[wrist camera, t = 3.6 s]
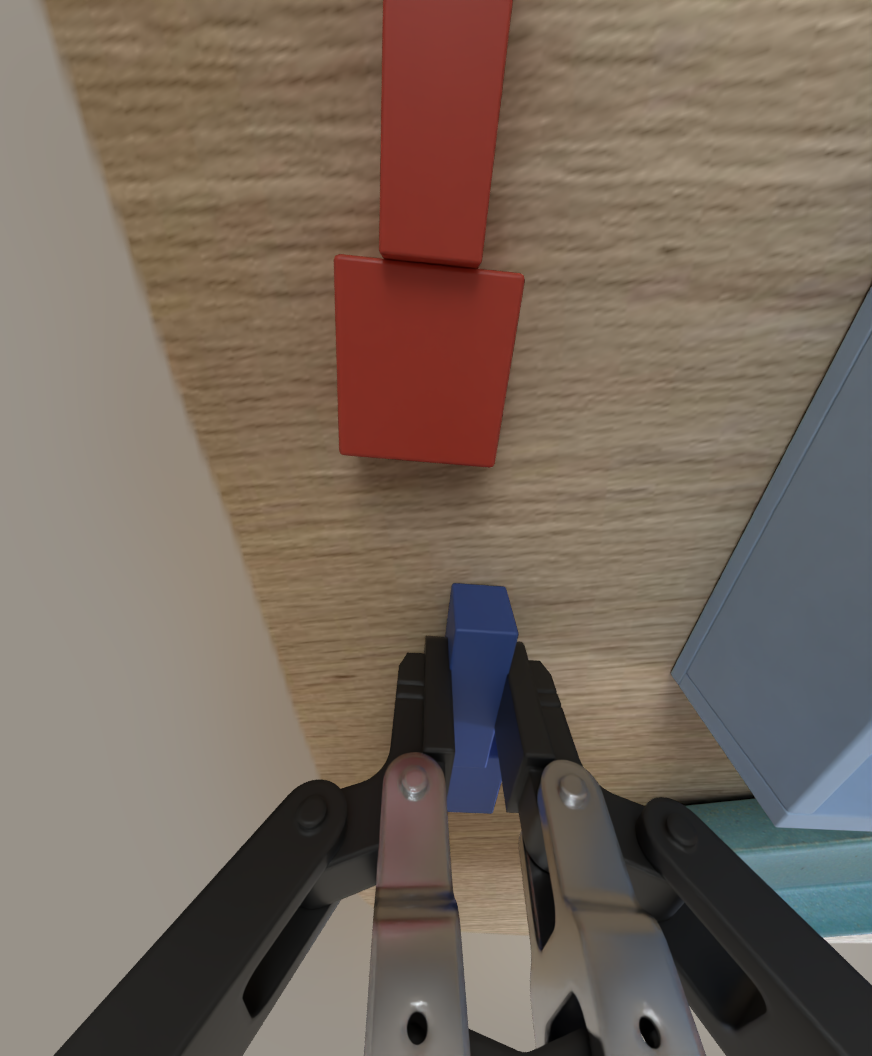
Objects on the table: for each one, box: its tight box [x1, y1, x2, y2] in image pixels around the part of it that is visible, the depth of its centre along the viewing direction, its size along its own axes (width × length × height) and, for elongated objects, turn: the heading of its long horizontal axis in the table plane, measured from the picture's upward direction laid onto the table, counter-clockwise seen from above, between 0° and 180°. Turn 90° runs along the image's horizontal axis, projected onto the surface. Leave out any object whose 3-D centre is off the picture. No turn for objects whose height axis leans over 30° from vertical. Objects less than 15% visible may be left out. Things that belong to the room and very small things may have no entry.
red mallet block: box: [334, 0, 525, 468], centre depth 6 cm, size 9×3×2 cm, turn 175°
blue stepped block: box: [445, 583, 519, 814], centre depth 12 cm, size 9×3×2 cm, turn 175°
